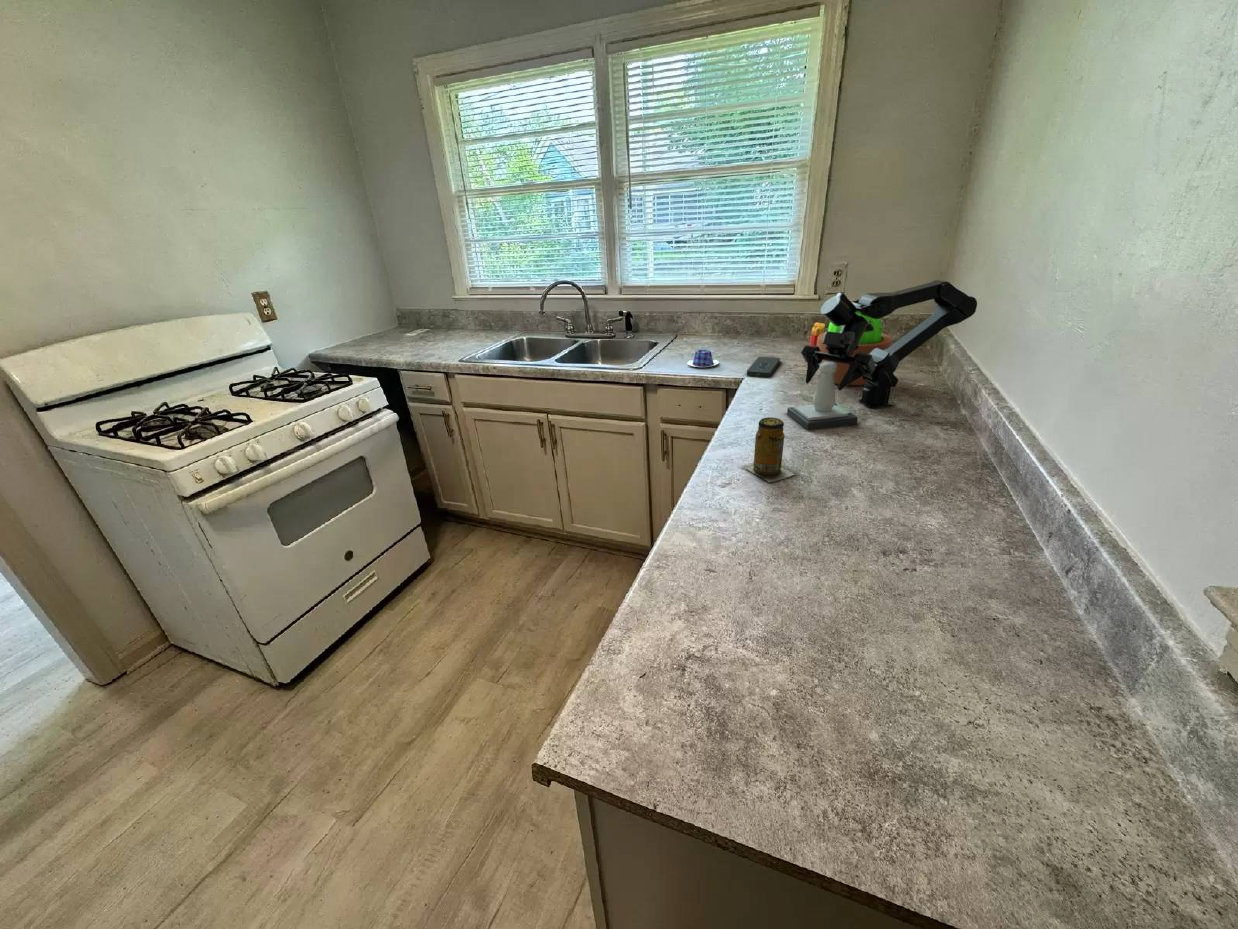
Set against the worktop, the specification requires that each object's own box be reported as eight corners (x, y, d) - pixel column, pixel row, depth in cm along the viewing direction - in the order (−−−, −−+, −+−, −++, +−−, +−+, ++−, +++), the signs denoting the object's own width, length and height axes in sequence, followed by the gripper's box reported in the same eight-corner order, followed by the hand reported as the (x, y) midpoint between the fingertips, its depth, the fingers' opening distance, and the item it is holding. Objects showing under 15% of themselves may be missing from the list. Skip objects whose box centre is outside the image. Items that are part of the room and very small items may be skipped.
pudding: (723, 361, 192) (724, 348, 189) (711, 370, 183) (711, 356, 181) (695, 359, 198) (695, 346, 196) (682, 367, 189) (682, 353, 187)
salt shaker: (835, 413, 132) (842, 365, 126) (813, 413, 133) (819, 365, 127) (831, 405, 137) (838, 359, 131) (810, 405, 138) (815, 359, 132)
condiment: (768, 460, 116) (773, 413, 111) (795, 475, 109) (800, 425, 104) (744, 468, 113) (747, 420, 108) (769, 483, 107) (773, 432, 101)
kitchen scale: (832, 408, 142) (834, 399, 141) (856, 424, 132) (858, 414, 130) (786, 414, 141) (787, 404, 140) (807, 430, 130) (808, 420, 129)
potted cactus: (811, 386, 161) (820, 306, 149) (814, 367, 178) (823, 295, 167) (886, 390, 153) (902, 307, 141) (882, 370, 171) (896, 294, 159)
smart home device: (746, 370, 174) (758, 356, 190) (745, 375, 175) (758, 360, 191) (769, 372, 171) (780, 357, 186) (769, 377, 171) (780, 361, 187)
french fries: (808, 354, 193) (812, 321, 187) (819, 355, 192) (824, 321, 186) (809, 361, 186) (813, 326, 180) (821, 361, 184) (825, 326, 178)
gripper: (808, 314, 133) (781, 364, 132) (878, 322, 120) (849, 377, 119) (820, 338, 141) (794, 385, 140) (887, 347, 128) (859, 399, 127)
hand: (822, 386), depth 131 cm, fingers open, 9 cm apart
